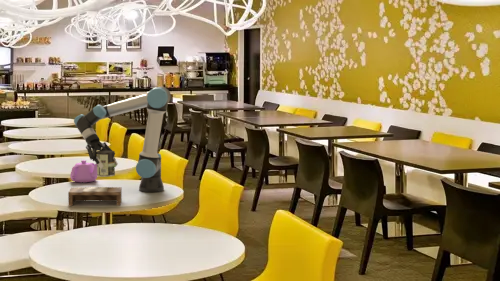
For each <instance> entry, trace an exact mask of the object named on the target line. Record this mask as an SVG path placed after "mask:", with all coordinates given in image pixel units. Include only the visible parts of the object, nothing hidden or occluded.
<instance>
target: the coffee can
mask: <svg viewBox="0 0 500 281" xmlns="http://www.w3.org/2000/svg"><path fill="white" fill-rule="evenodd" d="M114 153H115V154H116V152H115V150H112V151H110V150H104V151H100V150H97V158H99V159H100V161H101V162H102V164H103V166H104V167H103V168H102V169H100V167H99V166H98V164H97V177H100V178H101V177H104V178H108V177H114V176H115V175H116V169H115V168H116V167H115V159H116V156H115V155H114Z"/></svg>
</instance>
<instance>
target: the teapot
mask: <svg viewBox="0 0 500 281" xmlns="http://www.w3.org/2000/svg"><path fill="white" fill-rule="evenodd" d="M69 176H70V179H71V180H72V181H73V182H74V183H82V182H83V183H82V184H86V183H92V182H95V181H96V180H97V178H98V176H97V164H96V163H94V162H87V160H85V159H83V160H82V159H81V161H80V162H76V163H75V164H74V165H73V166H72V168H71V171H70V175H69Z"/></svg>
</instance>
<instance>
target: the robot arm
mask: <svg viewBox="0 0 500 281" xmlns="http://www.w3.org/2000/svg"><path fill="white" fill-rule="evenodd" d="M171 98H172V95H171V92H170V90H169V89H168V88H166V87H165V86H157V87H153V88H152V89H150V90H149V91H147V92H146V93H145V94H144V93H143V94H141V95H138V96H134V97H131V98H126V99H123V100H119V101H116V102H113V103H110V104H106V105H101V104H97V105H96V106H94V107H93V108H92V109H91V110H90V111H88V112H87V113H86V114H79V115H77V116H76V117H75V118H74V119H73V124H74V125H75V127H76V128H77V130H78V131H79V133H80V134H81V136H82V138H83V139H84V141H85V143H86V144H87V145H86V146H85V149H86V151H87V153H88V156H89V160H90V161H93V162H95V164H98V166H99V167H100V169H102V168H103V167H104V166H103V164H102V162H101V161H100V159H99V158H97V151H104V150H110V151H113V150H112V148H111V147H109V145H108V144H107V143H106V141H104V142H101V140H100V138H99V136H98V135H97V133H96V131H95V130H94V127H93V126H94V125H95V124H97V123H98V122H99V121H101V120H104V119H109V118H111V117H115V116H118V115H122V114H126V113H128V112H133V111H136V110H140V109H144V108H146V110H147V111H148V115H147V122H146V128H145V135H144V140H143V146H142V151H140V152H139V154H138V155H139V157H138V160H137V163H136V165H135V171H136V173H137V175H138V176H140V177H141V180H140V184H139V186H138V191H139V192H143V193H159V192H163V191H164V190H165V189H164V188H165V187H164V182H163V180H162V155H161V153H158V149H159V143H160V137H161V130H162V126H163V125H162V124H163V119H164V114H165V113H167V109H168V104H169V103H170V101H171ZM115 154H116V152H115V153H114V156H115ZM118 164H119V163H118V162H117V160H116V158H115V168H116V167H117V166H118Z"/></svg>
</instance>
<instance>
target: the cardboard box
mask: <svg viewBox="0 0 500 281" xmlns="http://www.w3.org/2000/svg"><path fill="white" fill-rule="evenodd" d="M122 189H123V188H122V187H120V186H119V187H118V186H116V187H115V186H114V187H113V186H111V187H110V186H108V187H107V186H93V187H91V186H90V187H89V186H88V187H86V186H85V187H70V188H69V191H68V194H67V196H68V198H67V199H68V200H67V201H68V206H69V207H72V206H74V203H75V202H78V201H79V202H81V201H82V202H87V201H86V200H99V201H101V200H102V201H104V202H106V201H110V202H111V201H112V202H113V201H116V206H121V204H122V199H123V198H122V197H123V196H122V193H123V192H122ZM84 200H85V201H84ZM99 201H98V202H99ZM102 201H101V202H102Z"/></svg>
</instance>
